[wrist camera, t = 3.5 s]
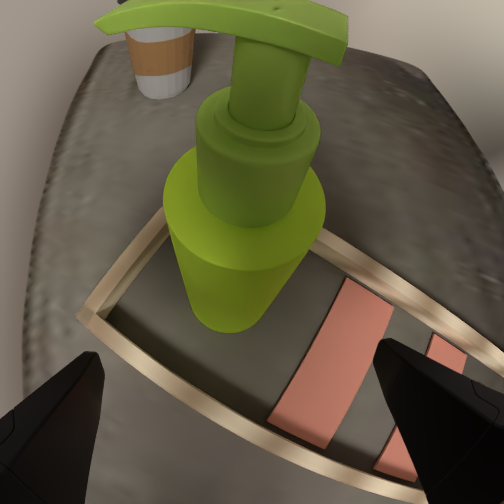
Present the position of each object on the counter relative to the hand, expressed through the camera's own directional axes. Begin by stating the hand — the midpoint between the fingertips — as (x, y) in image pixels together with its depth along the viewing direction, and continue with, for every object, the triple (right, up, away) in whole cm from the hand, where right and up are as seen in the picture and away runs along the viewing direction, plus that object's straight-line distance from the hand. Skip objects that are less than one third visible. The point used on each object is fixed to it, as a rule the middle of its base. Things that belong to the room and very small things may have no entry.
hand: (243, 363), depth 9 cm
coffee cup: (-10, +23, +23) cm, 34 cm away
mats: (+11, -8, +12) cm, 18 cm away
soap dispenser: (-2, 0, +14) cm, 14 cm away
